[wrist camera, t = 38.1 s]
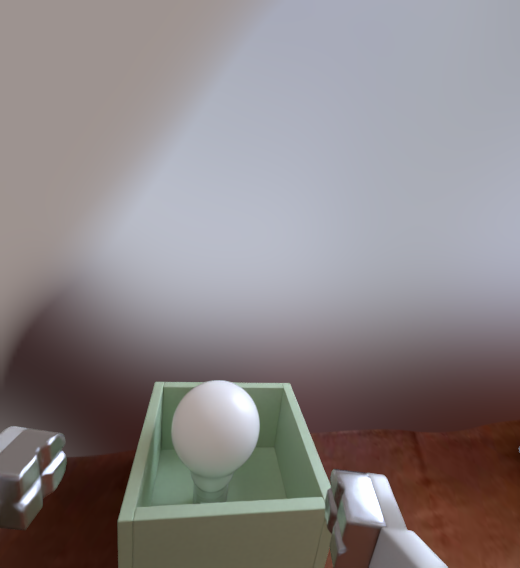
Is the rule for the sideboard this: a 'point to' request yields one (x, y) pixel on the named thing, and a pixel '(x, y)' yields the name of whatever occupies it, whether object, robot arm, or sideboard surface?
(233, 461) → the lightbulb
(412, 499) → the sideboard surface
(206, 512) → the bin
